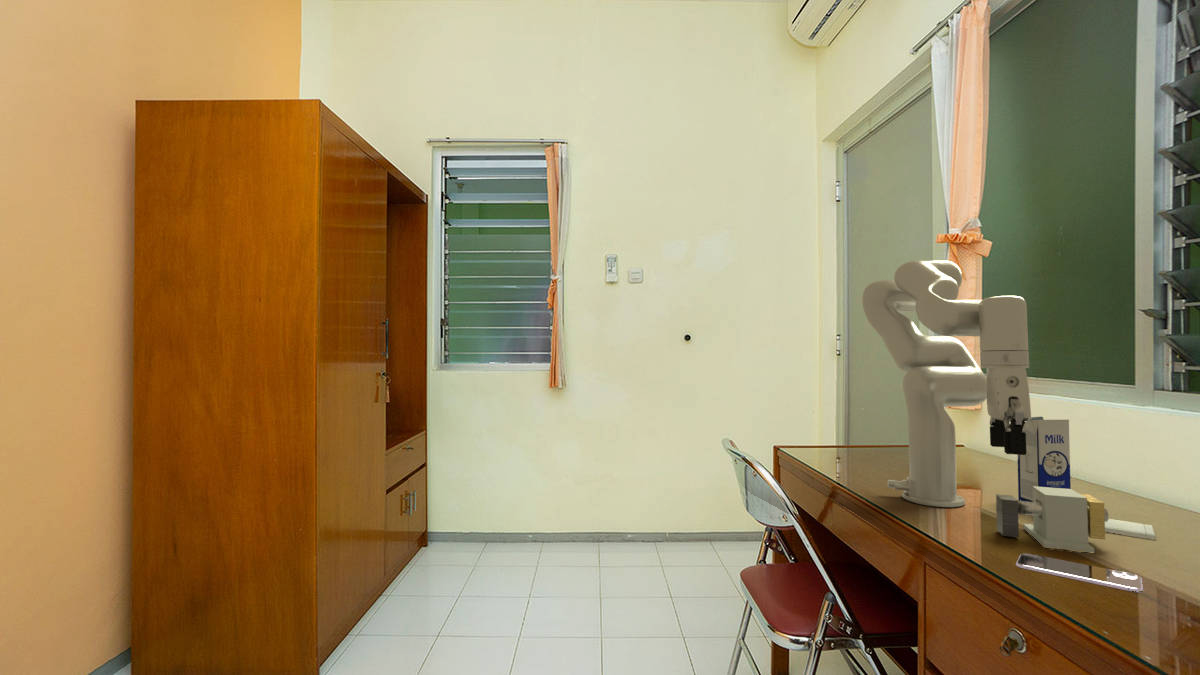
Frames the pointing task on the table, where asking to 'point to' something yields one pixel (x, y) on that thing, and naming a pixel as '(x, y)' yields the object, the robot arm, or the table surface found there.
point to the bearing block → (1060, 519)
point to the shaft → (1016, 513)
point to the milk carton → (1044, 457)
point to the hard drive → (1130, 529)
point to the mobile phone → (1081, 572)
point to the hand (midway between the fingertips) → (1007, 450)
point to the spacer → (1095, 517)
